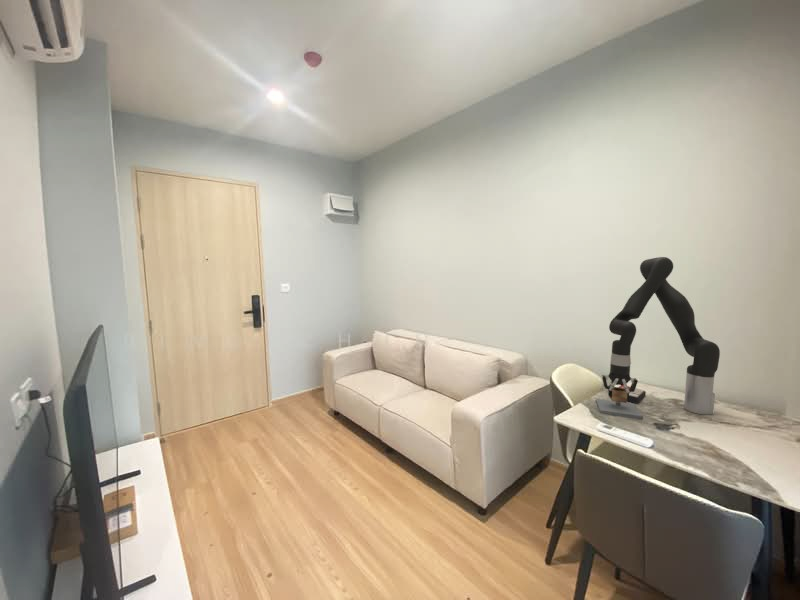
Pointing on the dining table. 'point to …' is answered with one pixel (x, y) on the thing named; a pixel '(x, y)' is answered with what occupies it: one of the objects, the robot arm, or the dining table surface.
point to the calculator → (635, 395)
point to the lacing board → (618, 409)
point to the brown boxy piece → (619, 395)
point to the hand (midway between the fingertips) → (618, 398)
